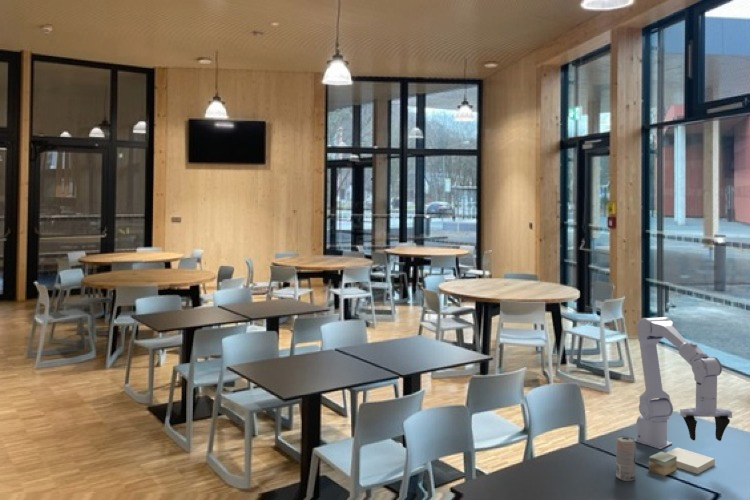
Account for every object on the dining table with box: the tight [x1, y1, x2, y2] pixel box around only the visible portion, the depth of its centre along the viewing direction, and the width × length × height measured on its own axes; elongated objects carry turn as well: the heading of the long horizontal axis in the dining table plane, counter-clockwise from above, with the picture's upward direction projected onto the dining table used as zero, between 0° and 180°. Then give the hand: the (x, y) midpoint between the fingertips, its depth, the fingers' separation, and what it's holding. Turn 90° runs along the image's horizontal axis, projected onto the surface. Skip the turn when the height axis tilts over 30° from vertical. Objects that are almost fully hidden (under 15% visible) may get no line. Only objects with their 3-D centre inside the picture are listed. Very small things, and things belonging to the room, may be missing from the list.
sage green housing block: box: [648, 451, 677, 477], centre depth 190 cm, size 5×7×4 cm
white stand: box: [665, 447, 716, 475], centre depth 195 cm, size 12×11×2 cm
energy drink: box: [615, 435, 636, 482], centre depth 185 cm, size 5×5×12 cm
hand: (705, 439), depth 189 cm, fingers open, 7 cm apart
